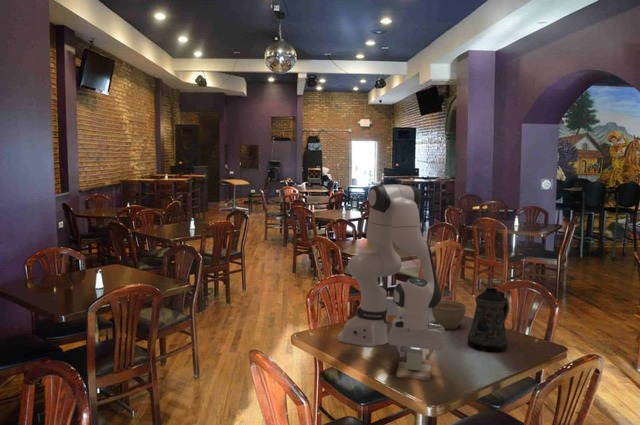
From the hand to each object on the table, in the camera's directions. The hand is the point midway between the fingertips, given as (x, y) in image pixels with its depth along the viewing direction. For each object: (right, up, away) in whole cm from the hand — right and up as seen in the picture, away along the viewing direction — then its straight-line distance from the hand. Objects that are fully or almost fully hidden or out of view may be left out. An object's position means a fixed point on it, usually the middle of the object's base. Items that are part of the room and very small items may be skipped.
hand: (414, 358), depth 197 cm
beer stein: (+38, -3, +32) cm, 50 cm away
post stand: (0, -5, 0) cm, 5 cm away
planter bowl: (+26, -1, +58) cm, 63 cm away
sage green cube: (0, -3, 0) cm, 3 cm away
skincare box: (0, 0, +63) cm, 63 cm away
